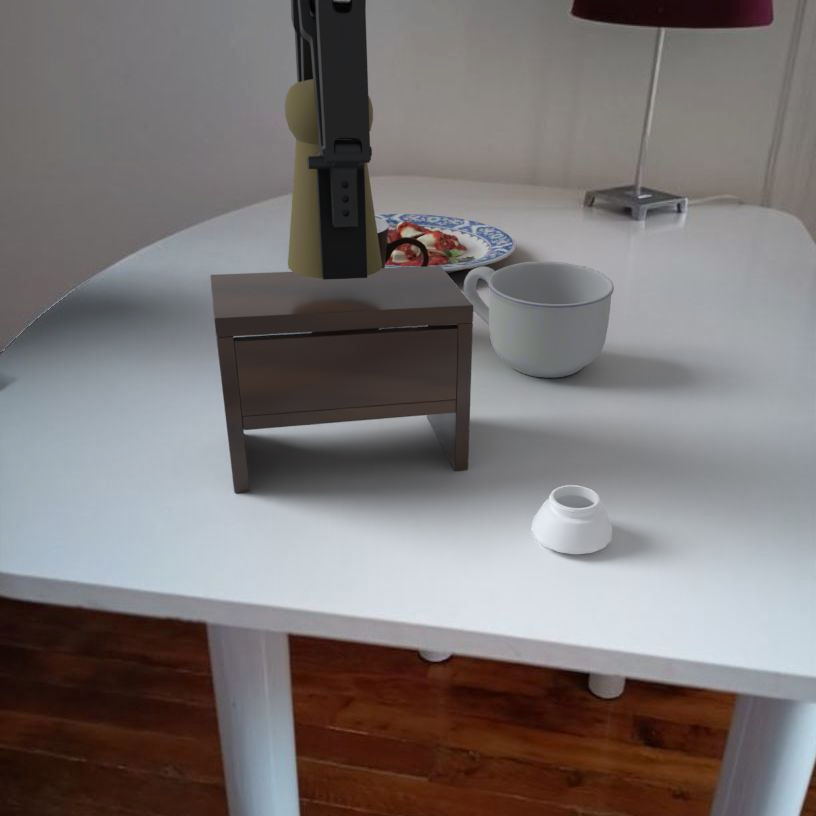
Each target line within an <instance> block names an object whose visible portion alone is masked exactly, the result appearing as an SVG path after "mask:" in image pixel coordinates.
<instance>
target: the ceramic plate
mask: <svg viewBox="0 0 816 816" xmlns="http://www.w3.org/2000/svg"><path fill="white" fill-rule="evenodd" d="M375 217H376V218H379V219H382V220H384V221H386V222H387V223H388V224H389V229H388V240H387V243H391V242H393V241H395V240H397V239H400V238H403V237H410V238H414V239H417V240H419V241H420V242H422V243H423V244H424V245H425V246H426V248H427V251H428V256H429V262H428V265H427V267H428V266H441V267H442V268H443V269H444V271H445V272H446V273H447V274H451V273H455V272H458V271H462V270H469V269H475V268H478V267H481V266H482V267H485V266H488V265H492V264H496V263H497V262H500V261H502V260H504V259H506V258H508V257H509V256H510V255H512V254H513V252H514V251H515V250H516V246H517V242H516V240H515V239H514V237H513V236H512V235H510V234H509V233H508V232H506V231H505V230H502V229H500V228H498V227H496V226H493V225H490V224H488V223H484V222H480V221H476V220H472V219H467V218H461V217H453V216H447V215H439V214H427V213H426V214H423V213H375ZM422 263H423V253H422V251H421V250H420V249H419V248H418V247H417V246H415V245H413V244H403V245H400V246H398V247H397V248H396V249H395V250H394V251H393V252H392V254H391V256H390V258H389V260H388V261H387V262H386V263H385V268H402V267H421V265H422Z"/></svg>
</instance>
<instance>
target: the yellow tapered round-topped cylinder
mask: <svg viewBox="0 0 816 816" xmlns="http://www.w3.org/2000/svg"><path fill="white" fill-rule="evenodd" d="M368 100H369V130H370V132H371V131H372V126H373V122H374V107H373V103H372V100H371V98H370V95H369V94H368ZM284 116H285V120H286V123H287V127H288V130H289V131H290V132H291V134H292V135H293V137H294V138H295V149H294V150H295V151H294V168H293V178H292V179H293V180H292V182H293V183H292V197H291V208H290V209H291V211H290V225H289V226H290V227H289V240H288V241H289V242H288V254H287V255H288V257H287V267H288V269H289V270H290V271H291V272H294V273H297V274H300V275H303V276H308V277H313V278H322V271H321V252H320V232H319V213H318V194H317V174H316V169H308V166H307V158H308V157H309V156H318V153H319V142H318V130H317V118H316V106H315V94H314V82H313V79H311V80H306V81H302V82H298V83H297V82H296V83H294V84H292V86H290V87H289V89H288V91H287V93H286V95H285V100H284ZM336 140H351V139H336ZM364 171H365V209H366V247H367V276H368V275H372V274H374V273H376V272H378V271H380V269H381V267H382V262H381V255H380V248H379V241H378V234H377V227H376V220H375V214H376V213H375V207H374V200H373V193H372V186H371V179H370V172H369V166H368V163H365V167H364ZM322 279H323V278H322ZM350 279H351V278H350Z"/></svg>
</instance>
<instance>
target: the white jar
mask: <svg viewBox="0 0 816 816" xmlns="http://www.w3.org/2000/svg"><path fill="white" fill-rule="evenodd" d="M600 499H601V497H600V496H599V494H598V493H597V492H596V491H594V490H593V489H591V488H589V487H586V486H583V485H575V484H565V485H562V486H558V487H556V488H554V489H553V490H551V492H550V494H549V497H548V498H547V499H546V500H545V501H544V502H543V504H541V506H540V508H539V509H538V511H537V512H536V514H535V515H534V516H533V518H532V522H531V527H530V529H531V530H530V531H531V534H532V536H533V538H534V540H535V541H536V542H538V543H539V544H541V545H542V546H543V547H545V548H547V549H550V550H551V551H554V552H558V553H562V554H570V555H571V554H572V555H583V554H584V555H585V554H592V553H595V552H598V551H601V550H603V549H605V548H606V547H607V546H608V545H609V544H610V543H611V542H612V536H613V526H612V523H611V521H610V519H609V516H608V514H607V512H606V509H605V507H604V506H603V504H602V503H601V500H600Z"/></svg>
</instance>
